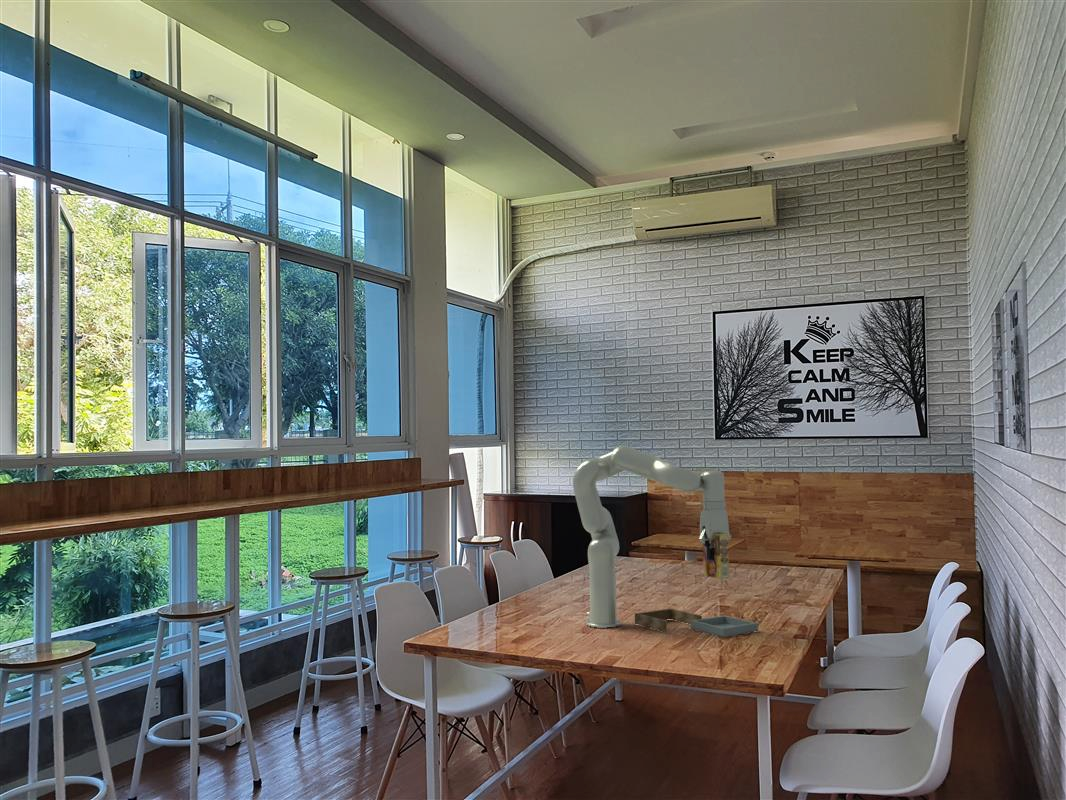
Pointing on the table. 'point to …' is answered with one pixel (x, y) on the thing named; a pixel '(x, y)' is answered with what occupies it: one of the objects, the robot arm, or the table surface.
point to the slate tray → (724, 626)
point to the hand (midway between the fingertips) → (716, 558)
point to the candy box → (717, 558)
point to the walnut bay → (663, 618)
